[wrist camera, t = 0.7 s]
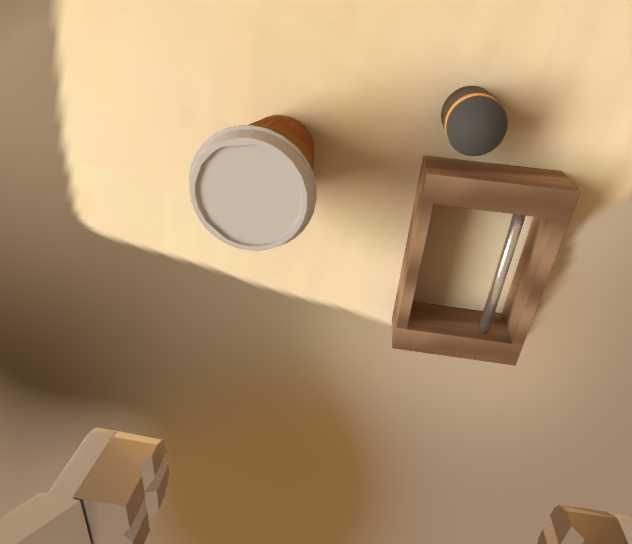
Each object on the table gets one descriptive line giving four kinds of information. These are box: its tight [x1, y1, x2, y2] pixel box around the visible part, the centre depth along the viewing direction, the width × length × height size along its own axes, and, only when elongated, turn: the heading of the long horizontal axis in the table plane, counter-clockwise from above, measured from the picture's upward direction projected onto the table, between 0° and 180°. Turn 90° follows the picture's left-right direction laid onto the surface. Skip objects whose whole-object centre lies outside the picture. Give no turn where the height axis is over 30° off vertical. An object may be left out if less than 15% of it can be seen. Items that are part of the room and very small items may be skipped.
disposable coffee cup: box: [189, 115, 316, 251], centre depth 40 cm, size 10×10×12 cm
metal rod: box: [478, 214, 526, 334], centre depth 45 cm, size 15×1×1 cm, turn 176°
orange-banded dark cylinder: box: [441, 86, 507, 156], centre depth 40 cm, size 4×4×5 cm
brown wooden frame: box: [392, 156, 580, 366], centre depth 46 cm, size 18×12×5 cm, turn 176°
